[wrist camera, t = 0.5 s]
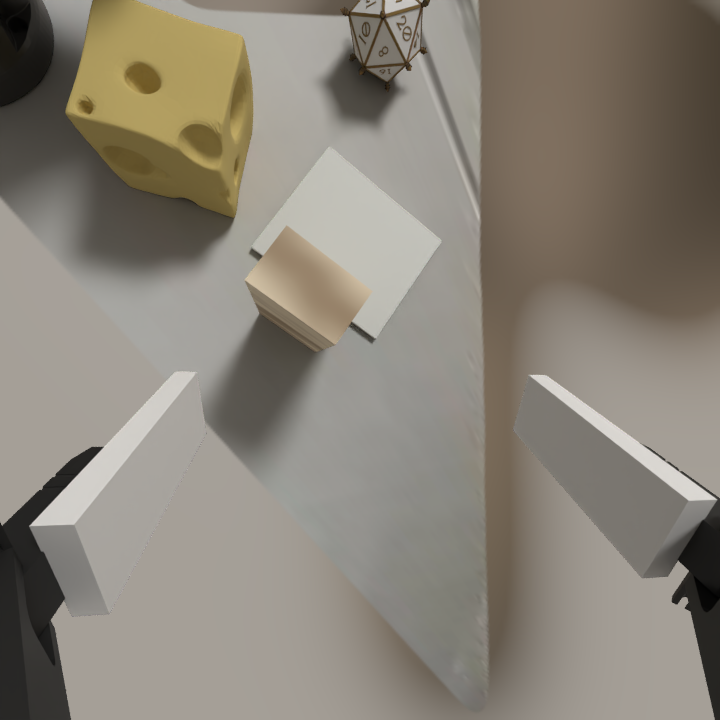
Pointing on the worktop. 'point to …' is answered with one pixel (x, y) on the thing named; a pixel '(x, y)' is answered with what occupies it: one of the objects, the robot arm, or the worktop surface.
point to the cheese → (165, 102)
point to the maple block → (305, 291)
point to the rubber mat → (356, 234)
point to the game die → (386, 35)
